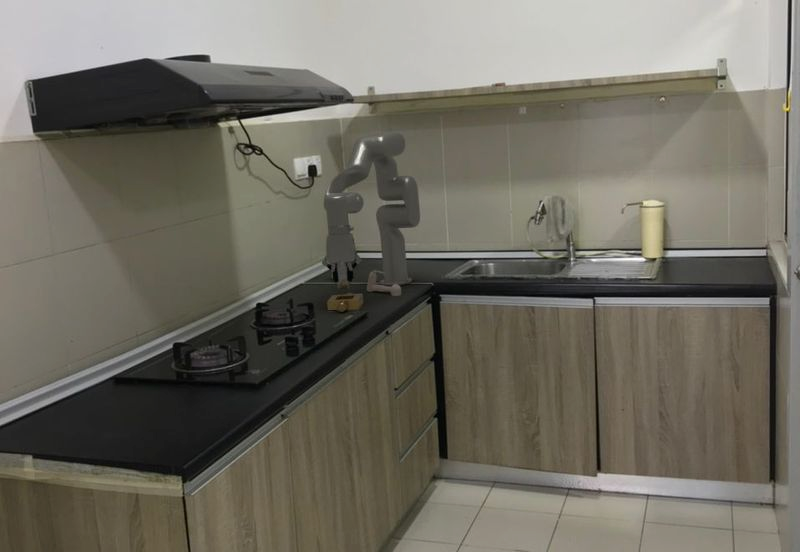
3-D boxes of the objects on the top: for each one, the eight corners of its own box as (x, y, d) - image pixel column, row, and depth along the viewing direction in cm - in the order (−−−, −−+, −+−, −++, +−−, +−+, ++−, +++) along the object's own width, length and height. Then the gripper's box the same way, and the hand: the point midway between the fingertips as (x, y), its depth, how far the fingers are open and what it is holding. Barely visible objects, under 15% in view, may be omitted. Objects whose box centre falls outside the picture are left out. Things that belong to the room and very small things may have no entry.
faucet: (393, 308, 317) (397, 284, 313) (364, 289, 328) (367, 266, 324) (401, 306, 319) (405, 282, 315) (372, 287, 331) (375, 264, 327)
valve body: (335, 302, 313) (334, 293, 312) (364, 300, 311) (363, 291, 311) (326, 314, 294) (325, 304, 293) (357, 312, 293) (356, 302, 292)
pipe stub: (339, 287, 304) (336, 259, 302) (351, 286, 303) (348, 258, 302) (337, 289, 300) (334, 261, 298) (349, 288, 299) (346, 260, 297)
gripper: (364, 227, 301) (368, 278, 304) (317, 230, 303) (322, 281, 306) (361, 230, 293) (365, 282, 297) (313, 233, 295) (318, 285, 298)
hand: (343, 281), depth 301 cm, fingers closed on pipe stub, 4 cm apart
